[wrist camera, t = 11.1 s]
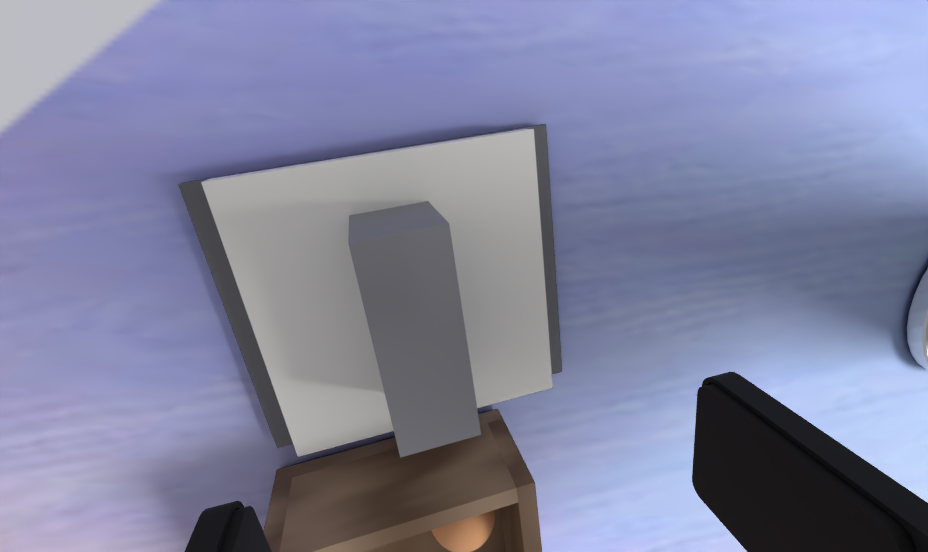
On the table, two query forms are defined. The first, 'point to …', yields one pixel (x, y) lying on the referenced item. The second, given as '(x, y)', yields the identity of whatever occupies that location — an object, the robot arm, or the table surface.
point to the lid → (393, 287)
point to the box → (406, 497)
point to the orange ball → (466, 533)
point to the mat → (239, 316)
